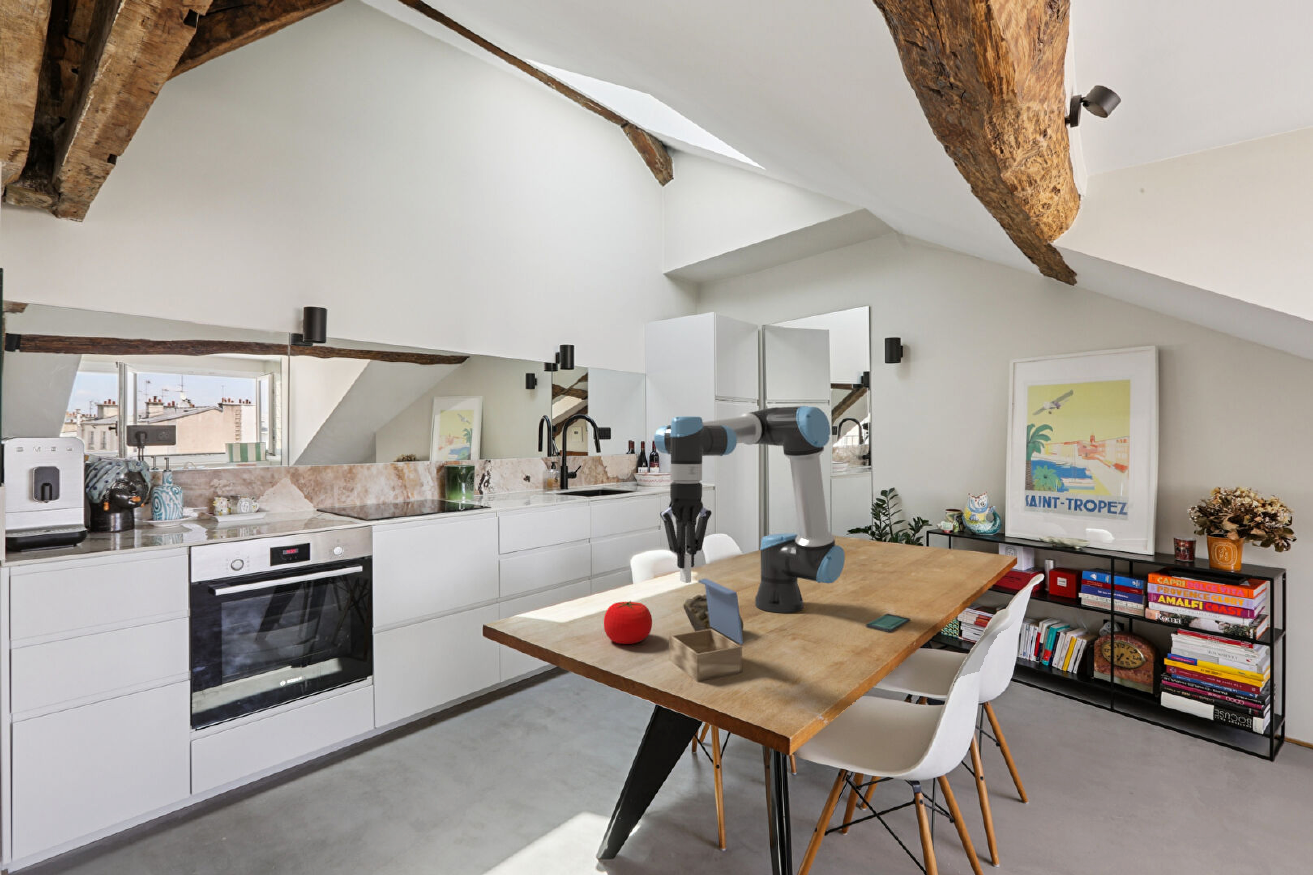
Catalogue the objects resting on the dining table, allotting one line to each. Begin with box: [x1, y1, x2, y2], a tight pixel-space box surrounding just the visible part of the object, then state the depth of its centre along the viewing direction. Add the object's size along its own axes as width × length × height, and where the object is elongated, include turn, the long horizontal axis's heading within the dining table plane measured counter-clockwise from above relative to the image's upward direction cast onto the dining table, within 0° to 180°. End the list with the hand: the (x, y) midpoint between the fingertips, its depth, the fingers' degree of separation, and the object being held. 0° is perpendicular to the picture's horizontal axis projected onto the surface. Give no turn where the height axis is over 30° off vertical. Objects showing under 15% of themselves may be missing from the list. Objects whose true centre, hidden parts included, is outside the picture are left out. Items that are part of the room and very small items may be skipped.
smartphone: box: [865, 613, 911, 634], centre depth 175 cm, size 7×1×15 cm
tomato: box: [603, 600, 653, 645], centre depth 162 cm, size 14×13×10 cm
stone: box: [683, 594, 745, 640], centre depth 165 cm, size 16×9×15 cm
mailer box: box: [668, 629, 743, 682], centre depth 144 cm, size 14×12×6 cm
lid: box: [698, 578, 744, 645], centre depth 146 cm, size 14×12×2 cm
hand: (685, 581), depth 142 cm, fingers closed
